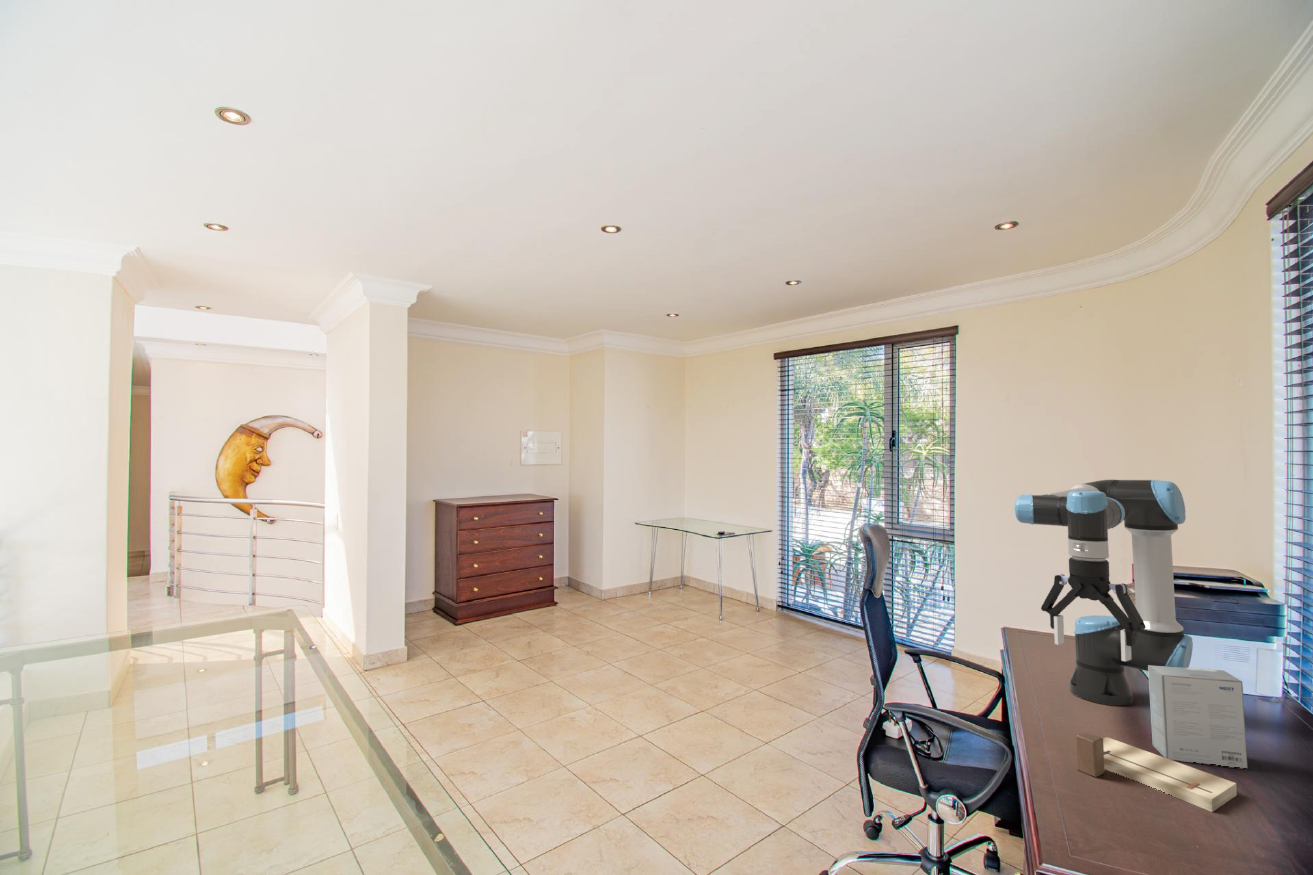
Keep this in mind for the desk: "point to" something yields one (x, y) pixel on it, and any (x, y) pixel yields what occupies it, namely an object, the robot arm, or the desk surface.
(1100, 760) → the wooden block
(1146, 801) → the desk surface
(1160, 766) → the birch board
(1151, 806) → the desk surface
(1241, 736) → the hard drive box
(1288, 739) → the desk surface
